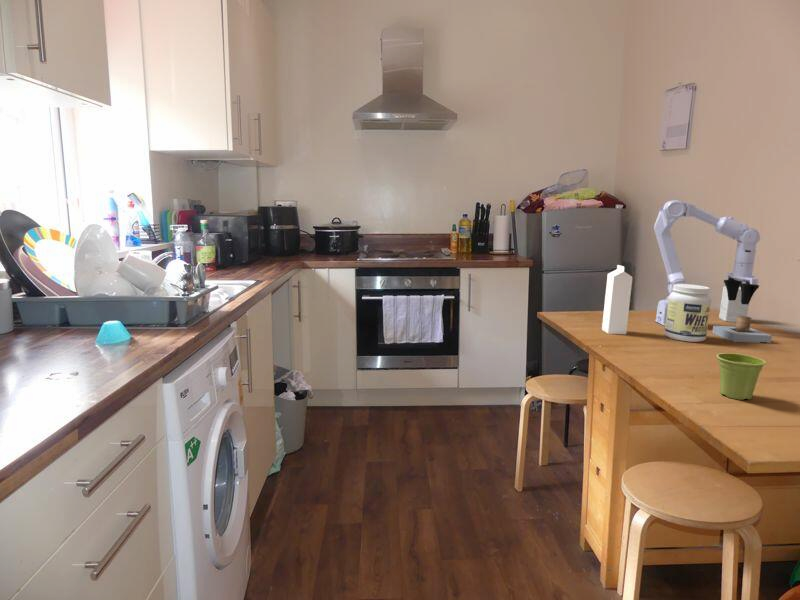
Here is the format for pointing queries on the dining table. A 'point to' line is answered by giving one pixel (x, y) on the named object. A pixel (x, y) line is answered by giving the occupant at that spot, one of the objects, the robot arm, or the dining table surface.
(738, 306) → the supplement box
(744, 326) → the dowel
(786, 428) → the dining table surface
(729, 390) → the plant pot
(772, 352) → the dining table surface
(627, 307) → the milk
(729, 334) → the socket block
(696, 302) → the supplement tub
